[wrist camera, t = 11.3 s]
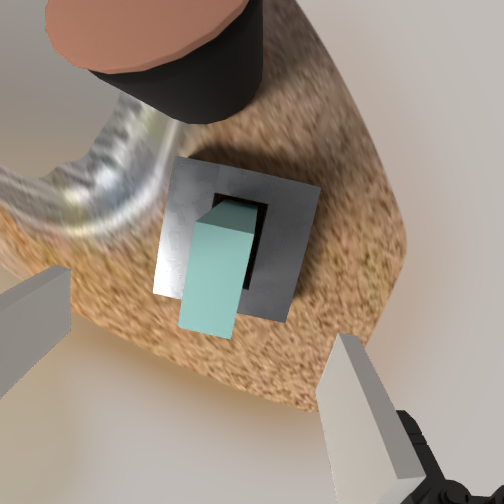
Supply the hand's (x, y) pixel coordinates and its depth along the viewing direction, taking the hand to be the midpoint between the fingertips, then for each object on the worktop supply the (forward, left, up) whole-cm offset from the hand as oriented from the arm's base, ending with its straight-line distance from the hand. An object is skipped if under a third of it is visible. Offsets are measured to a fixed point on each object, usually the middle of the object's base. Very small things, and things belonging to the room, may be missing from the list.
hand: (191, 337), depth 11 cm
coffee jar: (-6, +14, -20) cm, 25 cm away
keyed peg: (0, 0, -20) cm, 20 cm away
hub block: (0, 0, -20) cm, 20 cm away
